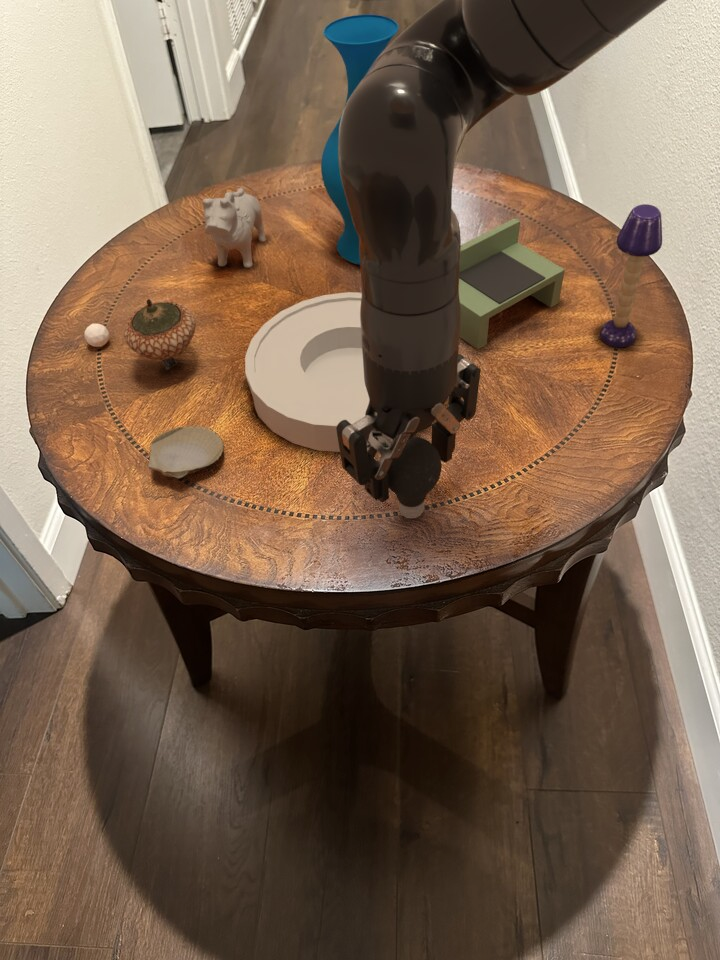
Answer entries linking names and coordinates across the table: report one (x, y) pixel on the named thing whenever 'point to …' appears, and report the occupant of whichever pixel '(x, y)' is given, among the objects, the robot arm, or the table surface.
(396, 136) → the robot arm
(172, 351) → the acorn
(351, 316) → the beige round base
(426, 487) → the light bulb
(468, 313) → the bench
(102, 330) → the polyhedron
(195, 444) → the seashell
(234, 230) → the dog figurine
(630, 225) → the toy lamp
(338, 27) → the vase
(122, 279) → the table surface
